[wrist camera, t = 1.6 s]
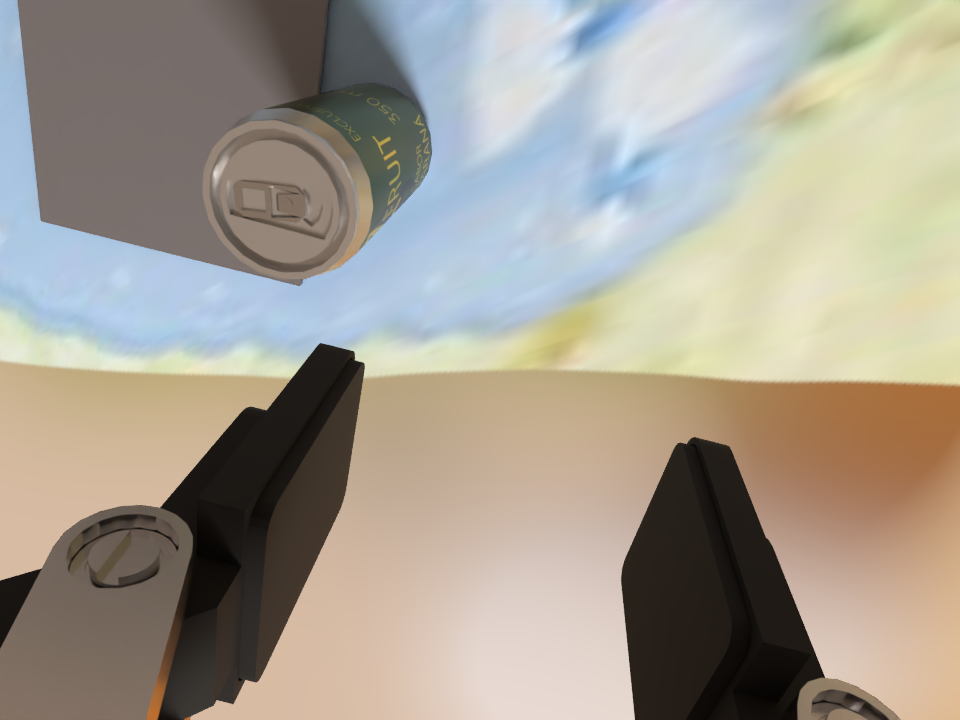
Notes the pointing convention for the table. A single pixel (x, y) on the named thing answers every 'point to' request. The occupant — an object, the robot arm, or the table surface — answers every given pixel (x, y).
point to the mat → (155, 106)
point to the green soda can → (314, 178)
